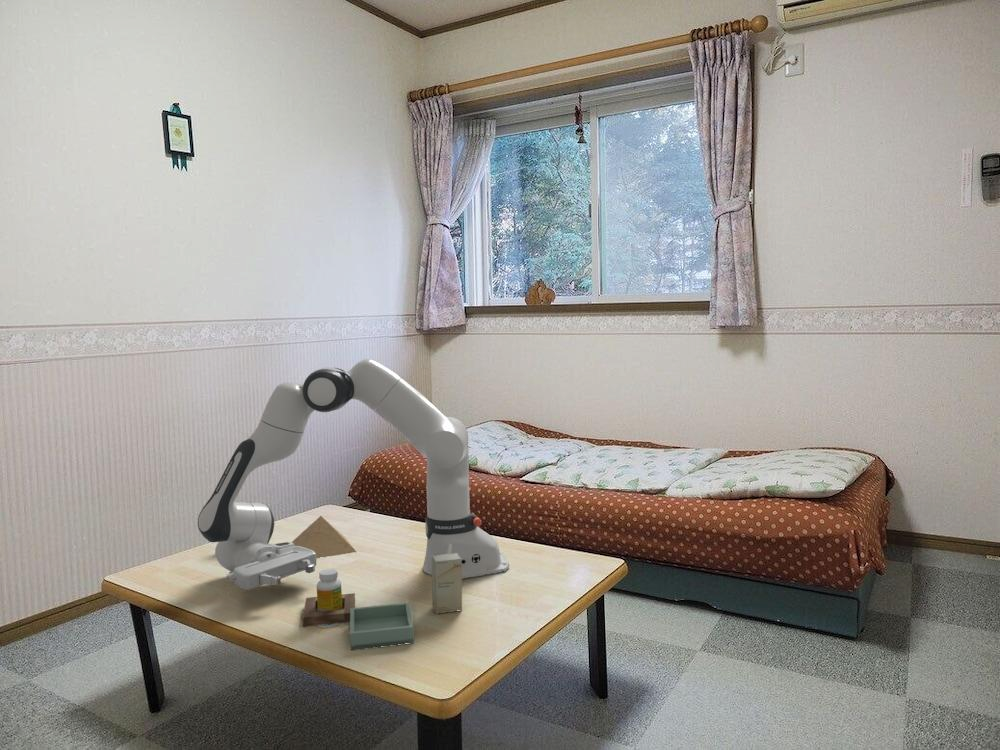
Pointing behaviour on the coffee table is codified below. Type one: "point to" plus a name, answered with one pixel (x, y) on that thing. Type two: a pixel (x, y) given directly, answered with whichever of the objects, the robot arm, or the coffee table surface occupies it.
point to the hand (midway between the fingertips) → (295, 575)
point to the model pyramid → (323, 539)
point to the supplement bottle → (329, 591)
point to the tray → (381, 626)
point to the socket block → (327, 612)
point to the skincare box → (446, 583)
